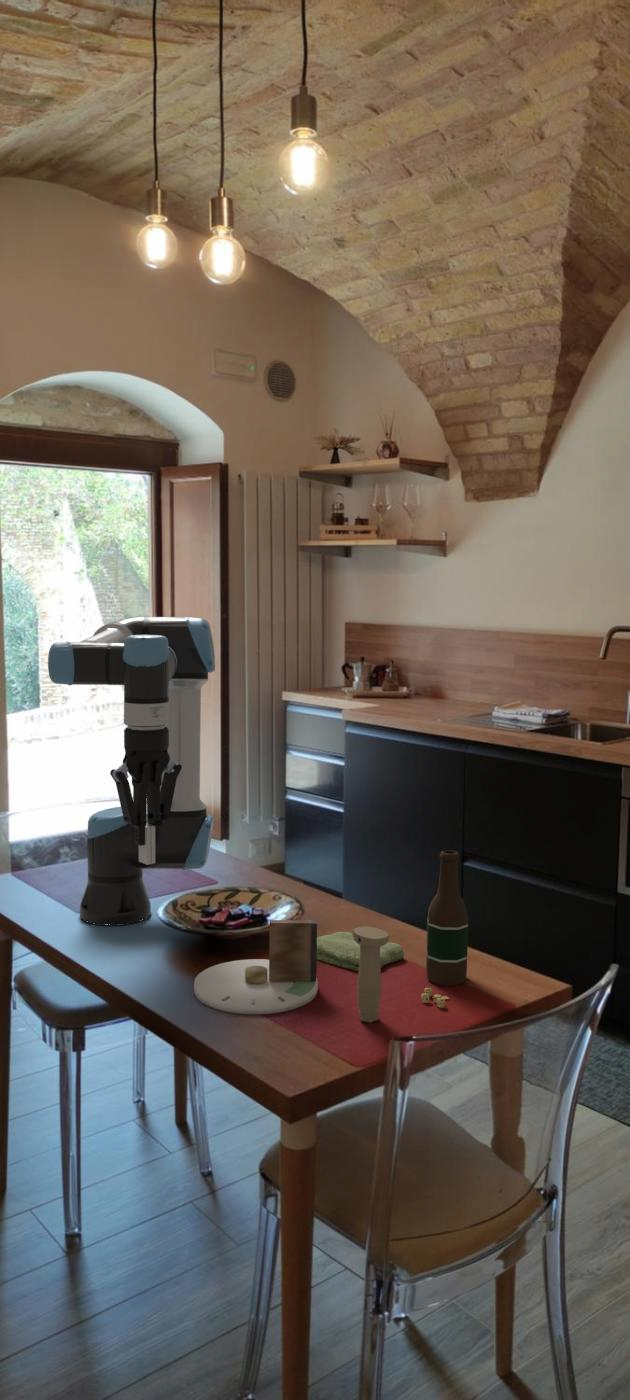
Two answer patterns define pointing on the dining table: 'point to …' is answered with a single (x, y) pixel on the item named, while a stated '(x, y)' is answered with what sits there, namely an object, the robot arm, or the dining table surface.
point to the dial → (250, 990)
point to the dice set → (437, 998)
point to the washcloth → (352, 951)
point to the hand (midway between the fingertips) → (147, 862)
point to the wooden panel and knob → (288, 953)
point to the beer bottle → (447, 927)
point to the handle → (369, 971)
